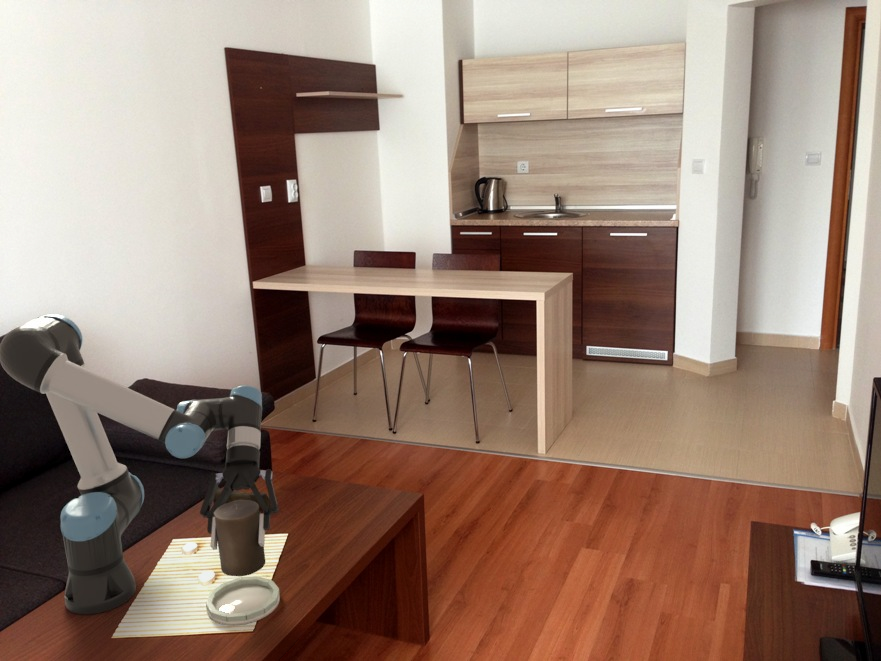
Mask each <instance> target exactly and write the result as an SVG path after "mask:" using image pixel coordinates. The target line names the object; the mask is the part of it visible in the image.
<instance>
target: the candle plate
mask: <svg viewBox="0 0 881 661" xmlns="http://www.w3.org/2000/svg"><path fill="white" fill-rule="evenodd" d="M280 596H281V595H280V587H278V585H277V584H276V583H275V581H273V580H272V579H269V578H267V577H266V578H265V577H262V576H240V577H238V578H235V579H232V580H228V581H225V582H223V583H221V584H220V585H218V586H217V587H215V589H213V590H212V591H211V592H210V593H209V595H208V596H207V598H206V599H207V600H206V601H205V608H206V614H207V616H208V617H209V618H210V619H211V620H212V621H213V622H215V623H218V624H221V625H225V626H242V625H247V623H248V624H252V623H254V622H257V621H259V620H262V619H264V618H266V617H267V616H269V615H270V614H272V612H274V611H275V610H276V609H277V608H278V606H279V603H280V601H281V600H280V599H281V597H280ZM225 604H233V605H234V606H235V609H234V612H233V613H231V614H229V613H225V612H222V611H219V608H220V607H221V606H222V605H225Z"/></svg>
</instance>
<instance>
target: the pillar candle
mask: <svg viewBox="0 0 881 661" xmlns="http://www.w3.org/2000/svg"><path fill="white" fill-rule="evenodd" d="M260 514H261V511H260V509H259V505H258V503H256V502H255V501H251V500H236V501H232V502H225V504H223V505H221V506H220V507H218V508H217V509H216V510H215V512H214V515H215V523H216V530H217V540H218V542H217V549H218V553H219V555H218V556H219V560H220V570H221V572H222V574H224V575H226V576H230V577H247V576H250V575H252V574H254V573H256V572H258V571H260V570H262V568H264V566H265V564H266V557H265V556H266V555H265V553H266V552H265V545H264V546H260V545H259V521H260Z"/></svg>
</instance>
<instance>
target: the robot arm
mask: <svg viewBox="0 0 881 661" xmlns="http://www.w3.org/2000/svg"><path fill="white" fill-rule="evenodd" d="M82 334H83V333H82V332H81V329H80V328H79V326H78V325H77V324H76V323H75V322H74V321H73V320H71V319H70V318H68V317H66V316H64V315H60V314H55V313H54V314H53V313H51V314H50V313H49V314H45V315H42V316H41V315H40V316H38V317H35V318H33V319H31V320H30V321H28V322H25V323H24V324H22V325H20V326H18V327H15V328H14V329H11V330H10V331H9V332H7V333H6V334H5V335H4V337H3V338H2V340H1V342H0V365H1V366H2V368H3V370H4V371H5V372H6V373H7V375H9V377H11V378H12V379H13V380H15V381H16V382H18V383H20V384H21V385H23V386H25V387H27V388H29V389H31V390H33V391H35V392H37V393H40V394H46V397H47V399H48V402H49V404H50V406H51V410H52V411H53V414H54V416H55V419H56V421H57V423H58V426H59V428H60V430H61V433H62V435H63V438H64V440H65V443H66V444H67V447H68V449H69V451H70V455H71V456H72V460H73V461H74V463H75V466H76V468H77V471H78V472H79V475H80V479H79V481H78V483H77V489H78V491H79V494H80V495H79V496H78V498H73V499H71V500H70V501H69V502H67V503H66V505H65V506H63V508H62V510H61V512H60V516H59V517H60V531H61V534H62V538H63V544H64V552H65V556H66V561H67V570H68V575H67V581H66V586H65V590H64V604H65V608H66V609H67V610H68V611H69V612H71V613H73V614H75V615H76V614H77V615H95V614H96V615H97V614H101V613H104V612H108V611H111V610H113V609H116V608H118V607H120V606H122V605H123V604H125V603H126V602H127V601H129V600H130V599H131V598H132V597H133V596H134V594H135V593H136V589H137V585H136V579H135V576H134V574H133V573H132V571H131V569H130V567H129V566H128V564H127V562H126V560H125V559H124V553H123V552H124V551H123V546H122V539H121V537H122V535H123V533H124V532H125V530H126V529H127V527H128V526H129V525H130V524H131V523H132V520H133V519H135V517H136V516H137V515H138V514H139V512H140V510H141V508H142V506H143V503H144V499H145V489H144V485H143V484H142V482H141V480H140V478H138V477H137V476H136V475H133V474H132V472H129V470H128V467H127V466H126V465H125V464H122V463H121V462H118V461H117V458H116V455H115V453H114V451H113V448H112V446H111V443H110V442H109V439H108V436H107V433H106V431H105V429H104V426H103V424H102V421H101V419H100V416H99V415H102V416H104V417H106V418H108V419H110V420H113V421H115V422H117V423H120V424H122V425H123V426H126V427H128V428H131V429H133V430H135V431H137V432H140V433H142V434H145V435H147V436H149V437H151V438H153V439H155V440H157V441H160V442H162V443H164V444H165V448H166V450H167V451H168V452H169V453H170V455H171V456H173V457H174V458H178V459H188V458H189V459H190V457H193V456H195V455H196V454H197V453H198V452H199V451H200V450H201V449H202V447H204V445H205V443H206V441H207V439H208V438H209V436H210V435H211V433H212V432H213V431H223V430H227V441H226V449H227V450H226V454H225V465H224V466H225V467H224V470H223V472H218V473H216V472H211V473H210V474H209V475H210V476H209V477H210V479H209V480H210V482H209V485H208V488H207V490H206V494H205V496H204V500H203V501H202V505H201V506H200V507H201V508H200V510H199V514H200V515H201V516H202V518H204V519H207V526H206V527H207V529H206V530H207V533H208V534H209V535H211V536H210V548H211V549H212V550H213V551H216V550H217V549H218V540H217V530H216V523H215V515H214V512H215V510H216V509H217V508H218V507H220V506H221V505H223V504H226V503H227V502H226V501H227V499H228V498H229V496H230V495H231V494H232V493H233V491H239V490H240V491H241V490H245V491H246V490H250V489H251V491H252V492H253V493H254V495H255V497H256V499H257V501H258V502H259V504H260V506H261V508H262V509H261V510H262V512H263V513H260V521H259V545H260V546H264V547H265V540H266V539H265V538H266V536H265V535H266V531H269V530H270V526H271V516H272V515H275V514H278V513H279V512H280V510H279V509H280V508H279V506H278V501H277V497H276V492H275V488H274V485H273V477H274V474H273V471H272V470H271V468H267V469H266V470H263V469H262V470H261V469H260V456H261V451H260V449H261V436H262V435H261V434H262V432H261V431H262V430H261V429H262V427H261V426H262V416H263V395H262V392H261V390H259V389H258V388H257V387H255V386H252V385H245V384H243V385H239V386H235V387H234V388H232V389H231V390H230V394H229V396H228V397H221V398H206V399H204V398H203V399H191V400H183V401H181V402H179V403H178V404H177V407H176V409H175V408H173V407H170V406H167V405H166V404H163V403H162V402H159V401H157V400H155V399H152V398H151V397H148V396H147V395H144V394H143V393H140V392H137V391H135V390H133V389H131V388H128V387H127V386H124V385H122V384H120V383H119V382H116V381H114V380H112V379H110V378H107V377H105V376H103V375H101V374H98V373H96V372H95V371H92V370H90V369H87V368H86V367H84V366H85V361H84V359H83V356H82V353H81V352H80V351H81V348H82V345H83V335H82ZM98 414H99V415H98ZM260 477H262V479H263V481H265V485H266V490H267V496H268V498H269V499H270V503H271V507H269V508H268V507H267V505H266V503H265V502H264V500H263V498H262V496H261V494H260V491H259V489H258V487H257V486H256V482H257V481H258V480H259V479H260ZM222 479H224V480H225V481H226V482H225V484H224V486H223V488H222V489H223V490H222V492H221V494H220V495H219V497H218V498H217V500H216V501H215V502H214V501H213V500H214V497H215V494H216V491H217V488H218V487H219V484H220V483H221V481H222ZM213 502H214V503H213Z"/></svg>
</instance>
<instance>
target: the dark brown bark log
mask: <svg viewBox="0 0 881 661" xmlns="http://www.w3.org/2000/svg"><path fill="white" fill-rule="evenodd" d="M222 490H223V488H220V487H219V486H218V488H217V491H216V494H215V497H214V500H213V502H214V503H215V502H216V500H217V498H218V497H219V495H220V494H221V492H222ZM259 492H260V491H259ZM260 494H261V496H262V498H263V500H264V502H265V503H266V505H267V507H268V508H269V507H271V503H270V499H269V495H268V493H265V492H260ZM236 500H251V501H255V502H256V503H258V505H259V510H262V508H261V506H260V504H259V502H258V501H257V499H256V497H255V495H254V493H253V491H252V492H251V493H250V492H243V491H238V490H234V491H233V493H232V494H231V495H230V496H229V498H228V499H227V501H226V502H225V503H229V502H232V501H236Z"/></svg>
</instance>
